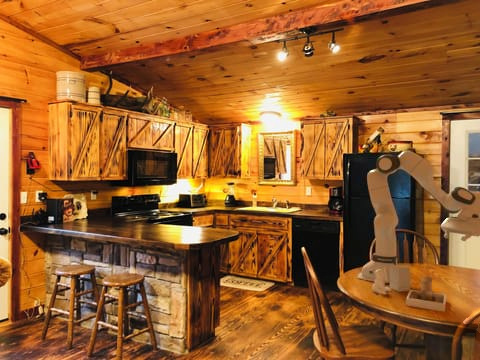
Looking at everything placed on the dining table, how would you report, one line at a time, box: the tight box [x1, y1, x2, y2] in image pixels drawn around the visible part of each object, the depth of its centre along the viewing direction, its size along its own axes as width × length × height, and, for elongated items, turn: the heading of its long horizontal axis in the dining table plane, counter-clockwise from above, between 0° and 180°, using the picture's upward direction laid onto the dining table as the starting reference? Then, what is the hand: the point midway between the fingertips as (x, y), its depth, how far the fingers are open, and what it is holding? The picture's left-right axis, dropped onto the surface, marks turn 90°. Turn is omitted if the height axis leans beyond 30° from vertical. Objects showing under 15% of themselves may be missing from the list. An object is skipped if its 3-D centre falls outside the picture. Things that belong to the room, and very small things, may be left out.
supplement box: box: [389, 264, 411, 293], centre depth 202 cm, size 7×7×13 cm
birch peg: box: [420, 275, 433, 301], centre depth 180 cm, size 4×4×12 cm
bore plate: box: [411, 292, 443, 303], centre depth 180 cm, size 13×13×2 cm
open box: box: [405, 289, 447, 312], centre depth 180 cm, size 16×16×4 cm
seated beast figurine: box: [371, 269, 392, 295], centre depth 198 cm, size 10×9×12 cm
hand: (454, 238), depth 194 cm, fingers open, 8 cm apart
